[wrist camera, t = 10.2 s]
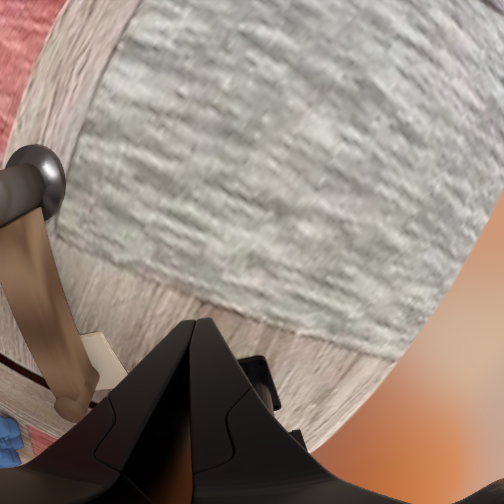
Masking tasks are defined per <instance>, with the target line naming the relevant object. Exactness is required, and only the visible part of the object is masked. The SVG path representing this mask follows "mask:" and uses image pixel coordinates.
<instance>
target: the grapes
mask: <svg viewBox="0 0 504 504" xmlns="http://www.w3.org/2000/svg"><path fill="white" fill-rule="evenodd" d="M22 447H24V444H23V441H22V438H21V436H20V430H19V427H18V425H17V423H16V421H15V420H13V419H12V418H6V419H5V418H3V417H2V416H0V468H13V467H17V466H19V465H20V464H22V463H21V460H20V457H19V454H18V453H17V452H16V450H18V449H20V448H22Z"/></svg>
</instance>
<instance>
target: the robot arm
mask: <svg viewBox="0 0 504 504" xmlns="http://www.w3.org/2000/svg"><path fill="white" fill-rule="evenodd" d="M257 362H261V363H257ZM275 405H276V406H275ZM279 409H281V402H280V399H279V396H278V393H277V390H276V387H275V384H274V381H273V378H272V375H271V372H270V369H269V366H268V363H267V360H266V358H265V357H264V356H255V357H251V358H247V359H243V360H238V361H237V360H236V358H235V356H234V355H233V353H232V351H231V350H230V348H229V346H228V345H227V343H226V341H225V340H224V338H223V336H222V334H221V333H220V331H219V329H218V328H217V326H216V324H215V322H214V321H213V319H212V318H210V317H209V318H201V319H197V321H196V320H194V319H193V320H184V321H181V322H179V323H178V324H177V325H176V326H175V327H174V328H173V329H172V330H171V331H170V332H169V333H168V334H167V335H166V336H165V337H164V338H163V339H162V340H161V341H160V342H159V343H158V345H157V346H156V347H155V348H154V349H153V350H152V351H151V352H150V353H149V354H148V355H147V356H146V357H145V358H144V359H143V360H142V361H141V362H140V363H139V364H138V365H137V366H136V367H135V368H134V369H133V370H132V371H131V372H130V373H129V374H128V375H127V376H126V377H125V378H124V379H123V380H122V381H121V382H120V383H119V384H118V385H117V386H116V387H115V388H114V389H113V390H112V391H111V392H110V393H109V394H108V397H107V396H106V397H105V398H104V399H103V400H102V401H101V402H100V403H99V404H98V405H97V406H96V407H95V408H94V409H92V410H91V411H90V412H89V413H88V414H87V415H86V416H85V417H84V418H83V419H82V420H81V421H79V422H78V423H77V424H76V425H75V426H74V427H73V428H71V429H70V430H69V431H68V432H67V433H65V434H64V435H63V436H62V437H60V438H59V439H58V440H57V441H56V442H54V443H53V444H52V445H51V446H49V447H48V448H47V449H46V450H44V451H43V452H42V453H41V454H39V455H38V456H37V457H36V458H34V459H33V460H31V461H30V462H28V463H26V464H23V465H21V466H17V467H13V468H0V504H411V503H407V502H404V501H400V500H397V499H394V498H390V497H388V496H385V495H382V494H378V493H376V492H373V491H370V490H367V489H365V488H362V487H359V486H357V485H354V484H351V483H349V482H346V481H344V480H342V479H340V478H338V477H337V476H335V475H334V474H332V473H331V472H329V471H328V470H327V469H325V468H324V467H323V466H322V465H321V464H320V463H319V462H318V461H316V459H314V458H313V457H312V456H311V455H310V454H309V453H308V451H307V448H306V445H305V442H304V439H303V436H302V434H301V431H300V429H299V430H292V432H288V431H287V430H286V429H285V428H284V427H283V426H282V425H281V424H280V423H279V422H278V420H277V419H276V418H275V417H274V411H277V410H279ZM453 504H504V478H503V479H500V480H497V481H495V482H493V483H491V484H489V485H487V486H486V487H484V488H482V489H481V490H479V491H477V492H475V493H474V494H472V495H470V496H468V497H466V498H465V499H463V500H460V501H458V502H455V503H453Z"/></svg>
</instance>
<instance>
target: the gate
mask: <svg viewBox="0 0 504 504" xmlns="http://www.w3.org/2000/svg"><path fill="white" fill-rule="evenodd" d="M43 195H44V181H43V177H42V175H41V173H40V171H39V170H38V169H37V167H35V166H34V165H32V164H29V163H24V164H20V165H17V166H13V167H10V168H7V169H3V170H0V281H1V284H2V287H3V290H4V292H5V295H6V298H7V300H8V303H9V305H10V308H11V310H12V313H13V315H14V317H15V320H16V322H17V324H18V327H19V329H20V331H21V333H22V336H23V338H24V340H25V342H26V344H27V346H28V348H29V350H30V352H31V354H32V356H33V358H34V360H35V362H36V364H37V366H38V368H39V370H40V371H41V373H42V375H43V377H44V379H45V380H46V382H47V384H48V386H49V387H50V389H51V391H52V392H53V394H54V396H55V397H56V399H57V400H56V402H55V404H54V408H55V410H56V412H57V413H58V414H59V415H60V416H61V417H63V418H64V419H66V420H68V421H70V422H73V423H78V422H79V421H81V420H82V419H83V418H84V417H85V415H86V412H87V409H88V407H89V404H90V402H91V399H92V397H93V394H94V391H95V389H96V387H97V384H98V382H99V379H100V375H99V373H98V371H97V370H96V369H95V368H94V367H93V366H92V364H91V362H90V360H89V357H88V355H87V353H86V350H85V348H84V346H83V343H82V341H81V338H80V336H79V333H78V331H77V328H76V326H75V323H74V320H73V318H72V315H71V312H70V309H69V306H68V304H67V301H66V298H65V295H64V292H63V289H62V286H61V282H60V279H59V276H58V273H57V269H56V266H55V262H54V259H53V255H52V252H51V248H50V244H49V240H48V236H47V232H46V228H45V223H44V219H43V214H42V209H41V207H39V208H35V207H36V206H38V205H39V203H40V202H41V200H42V198H43ZM33 208H34V209H33Z"/></svg>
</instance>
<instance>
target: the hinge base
mask: <svg viewBox="0 0 504 504" xmlns="http://www.w3.org/2000/svg"><path fill="white" fill-rule="evenodd" d="M24 163H29V164H32V165H34V166H35V167H37V169H38V170H39V171H40V173H41V175H42V177H43V181H44V195H43V198H42V200H41V202H40V203H39V205H38V206H36V207H35V208H39V207H41V209H42V214H43V219H44V221H45V220H47V219H49V218H50V217H52V216H53V215H54V214H55V213H56V212H57V211H58V209H59V208H60V206H61V204H62V202H63V199H64V195H65V187H66V182H65V174H64V170H63V167H62V164H61V162H60V160H59V159H58V157H57V156H56V154H55V153H54V152H53V151H52V150H50V149H49V148H47V147H45V146H43V145H39V144H34V145H28V146H24V147H22V148H20V149H18V150H17V151H16V152H15V153H14V154H13V155H12V156H11V157H10V159H9V161H8V163H7V165H6V168H5V169H7V168H10V167H13V166H17V165H20V164H24ZM33 209H34V208H33Z"/></svg>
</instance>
